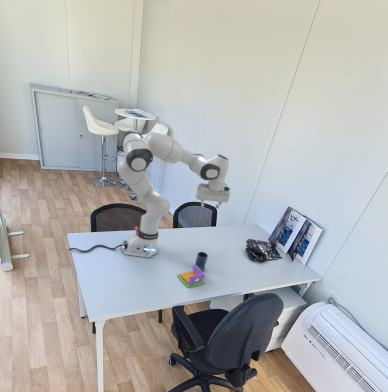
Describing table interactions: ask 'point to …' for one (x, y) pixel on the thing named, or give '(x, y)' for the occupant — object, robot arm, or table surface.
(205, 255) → the pen cup
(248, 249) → the cable
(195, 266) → the dollhouse room
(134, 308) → the table surface
